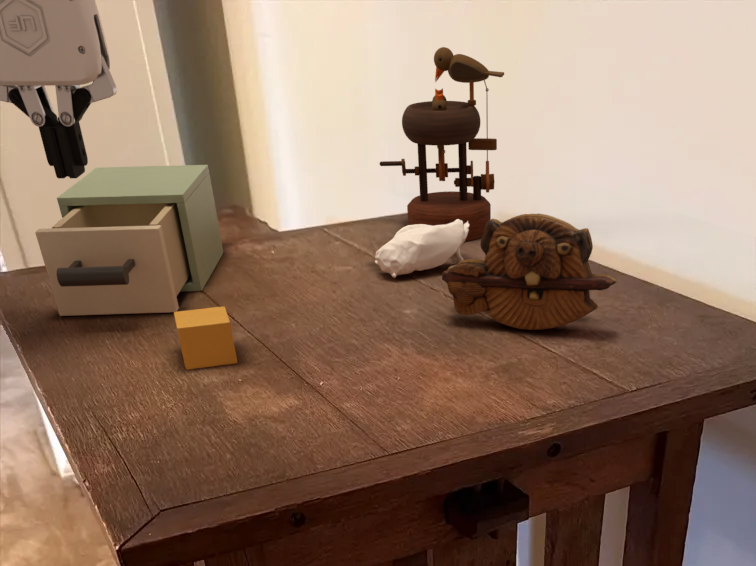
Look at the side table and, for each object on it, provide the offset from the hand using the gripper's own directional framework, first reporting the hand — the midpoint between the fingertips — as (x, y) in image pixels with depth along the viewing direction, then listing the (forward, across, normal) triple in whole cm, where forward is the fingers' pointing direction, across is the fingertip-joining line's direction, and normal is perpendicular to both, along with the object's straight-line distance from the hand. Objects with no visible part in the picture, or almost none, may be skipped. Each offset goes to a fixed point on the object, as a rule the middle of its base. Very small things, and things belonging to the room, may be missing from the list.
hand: (71, 174), depth 81 cm
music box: (+13, +34, +32) cm, 49 cm away
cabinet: (+14, +1, +18) cm, 23 cm away
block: (+13, +12, -10) cm, 21 cm away
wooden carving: (+13, +41, -4) cm, 43 cm away
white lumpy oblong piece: (+13, +31, +16) cm, 37 cm away
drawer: (+13, +1, +6) cm, 14 cm away
